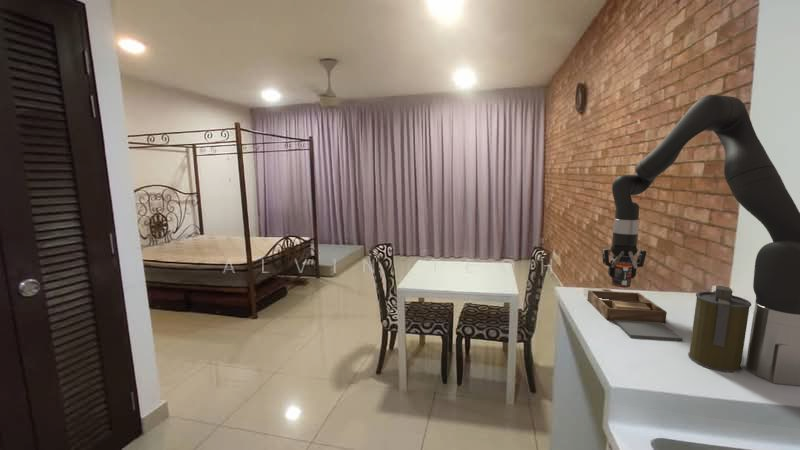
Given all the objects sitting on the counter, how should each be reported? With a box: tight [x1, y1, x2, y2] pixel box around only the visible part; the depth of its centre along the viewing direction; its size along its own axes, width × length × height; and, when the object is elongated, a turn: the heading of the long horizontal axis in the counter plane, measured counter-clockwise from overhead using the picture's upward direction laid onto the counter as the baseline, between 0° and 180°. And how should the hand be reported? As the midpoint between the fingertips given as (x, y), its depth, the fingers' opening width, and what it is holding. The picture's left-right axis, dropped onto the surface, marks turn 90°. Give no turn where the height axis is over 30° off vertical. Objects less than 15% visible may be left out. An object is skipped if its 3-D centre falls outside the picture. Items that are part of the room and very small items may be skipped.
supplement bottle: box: [611, 256, 632, 289], centre depth 126 cm, size 6×6×11 cm
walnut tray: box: [587, 290, 668, 325], centre depth 124 cm, size 18×18×4 cm
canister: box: [687, 285, 752, 373], centre depth 90 cm, size 11×10×20 cm
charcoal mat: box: [614, 320, 683, 342], centre depth 109 cm, size 11×14×1 cm
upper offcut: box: [612, 301, 651, 310], centre depth 119 cm, size 5×10×2 cm, turn 74°
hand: (621, 277), depth 126 cm, fingers closed on supplement bottle, 6 cm apart
